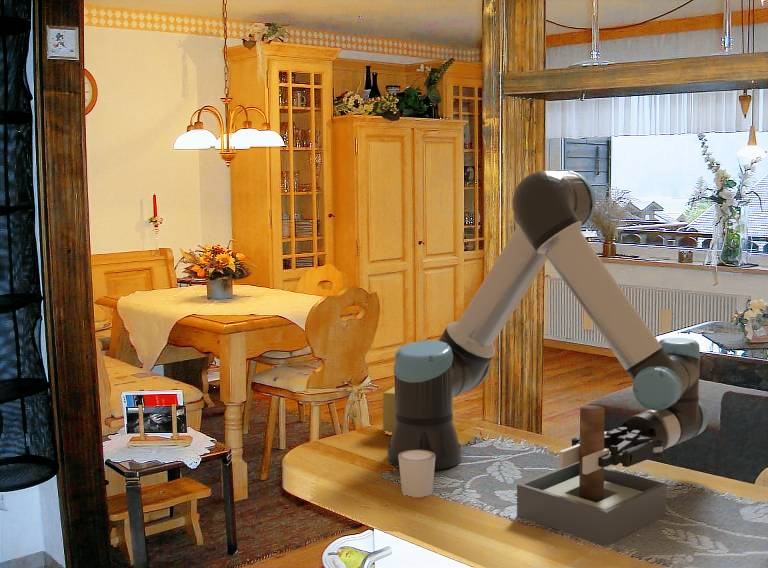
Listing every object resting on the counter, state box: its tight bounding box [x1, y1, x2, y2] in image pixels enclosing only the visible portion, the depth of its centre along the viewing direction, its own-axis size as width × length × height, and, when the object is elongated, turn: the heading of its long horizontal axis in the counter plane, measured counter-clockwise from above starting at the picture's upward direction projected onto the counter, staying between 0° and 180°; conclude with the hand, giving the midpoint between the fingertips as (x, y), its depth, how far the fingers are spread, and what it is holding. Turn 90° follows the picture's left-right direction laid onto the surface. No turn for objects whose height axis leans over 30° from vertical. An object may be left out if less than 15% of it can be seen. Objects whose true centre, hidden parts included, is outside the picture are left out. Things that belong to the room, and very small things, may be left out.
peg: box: [579, 405, 606, 503], centre depth 149 cm, size 4×4×16 cm
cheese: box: [382, 385, 395, 433], centre depth 201 cm, size 10×11×10 cm
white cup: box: [398, 450, 435, 498], centre depth 163 cm, size 7×7×7 cm
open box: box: [516, 461, 667, 547], centre depth 150 cm, size 18×18×6 cm
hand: (572, 462), depth 146 cm, fingers closed on peg, 4 cm apart
